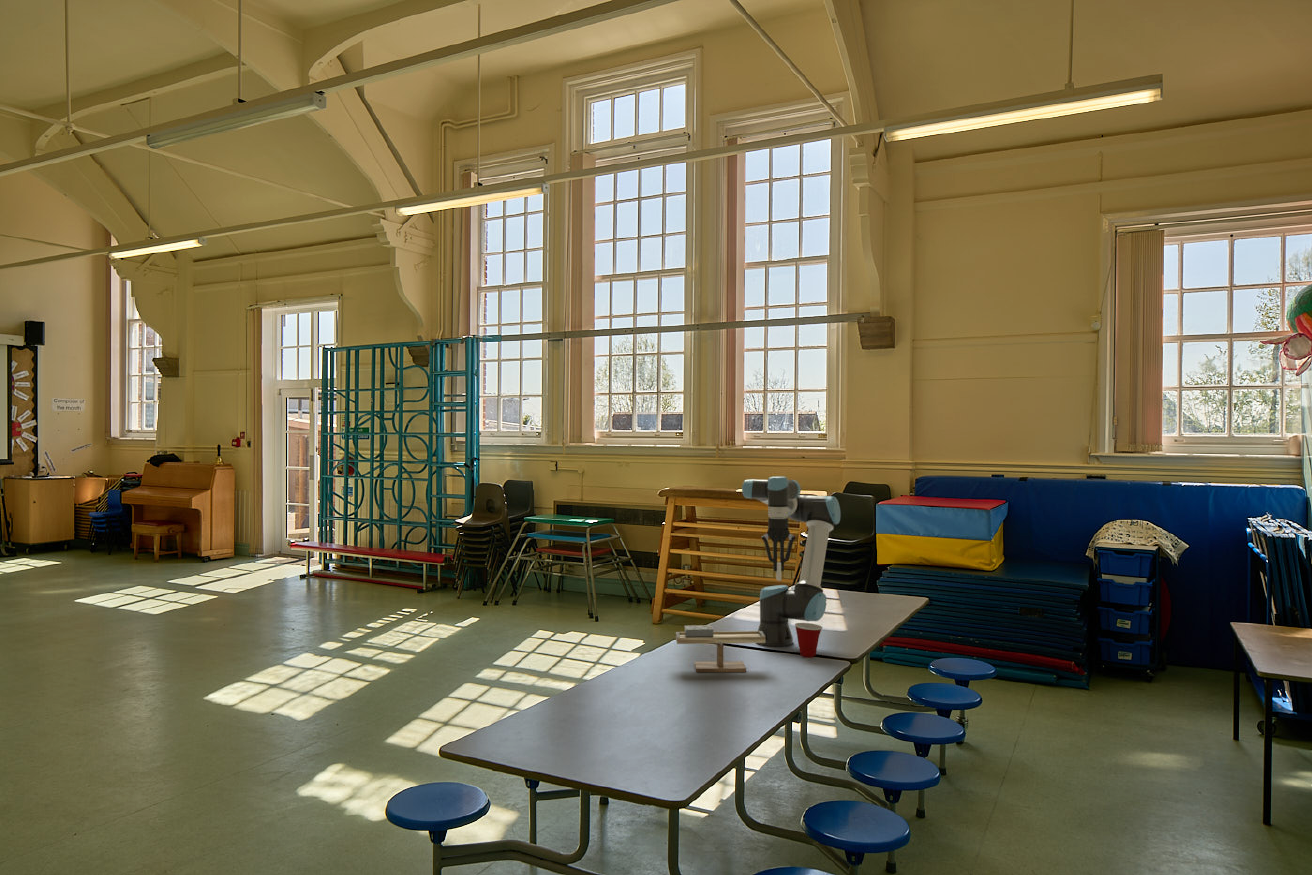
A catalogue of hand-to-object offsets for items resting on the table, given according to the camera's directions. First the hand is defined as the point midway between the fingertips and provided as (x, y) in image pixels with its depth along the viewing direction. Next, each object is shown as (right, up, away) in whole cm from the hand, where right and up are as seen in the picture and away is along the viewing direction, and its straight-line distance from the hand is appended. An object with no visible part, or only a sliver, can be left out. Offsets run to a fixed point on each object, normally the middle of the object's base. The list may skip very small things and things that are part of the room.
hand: (778, 579), depth 331 cm
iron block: (-31, -19, -10) cm, 38 cm away
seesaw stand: (-23, -31, -10) cm, 40 cm away
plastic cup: (+13, -31, +8) cm, 35 cm away
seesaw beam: (-23, -21, -10) cm, 33 cm away
